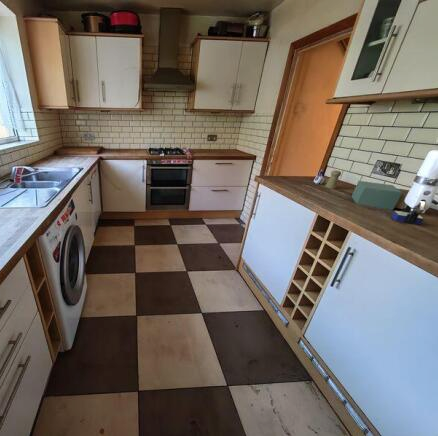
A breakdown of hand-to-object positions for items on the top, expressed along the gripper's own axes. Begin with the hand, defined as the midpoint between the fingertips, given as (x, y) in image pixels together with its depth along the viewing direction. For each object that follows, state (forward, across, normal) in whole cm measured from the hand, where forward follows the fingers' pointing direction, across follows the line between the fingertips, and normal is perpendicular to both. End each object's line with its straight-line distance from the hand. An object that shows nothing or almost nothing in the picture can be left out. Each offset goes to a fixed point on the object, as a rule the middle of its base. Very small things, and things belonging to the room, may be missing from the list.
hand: (405, 220), depth 101 cm
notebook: (0, 0, 0) cm, 0 cm away
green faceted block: (+2, +26, +6) cm, 27 cm away
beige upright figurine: (+2, +49, +22) cm, 54 cm away
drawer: (+1, +26, -7) cm, 27 cm away
